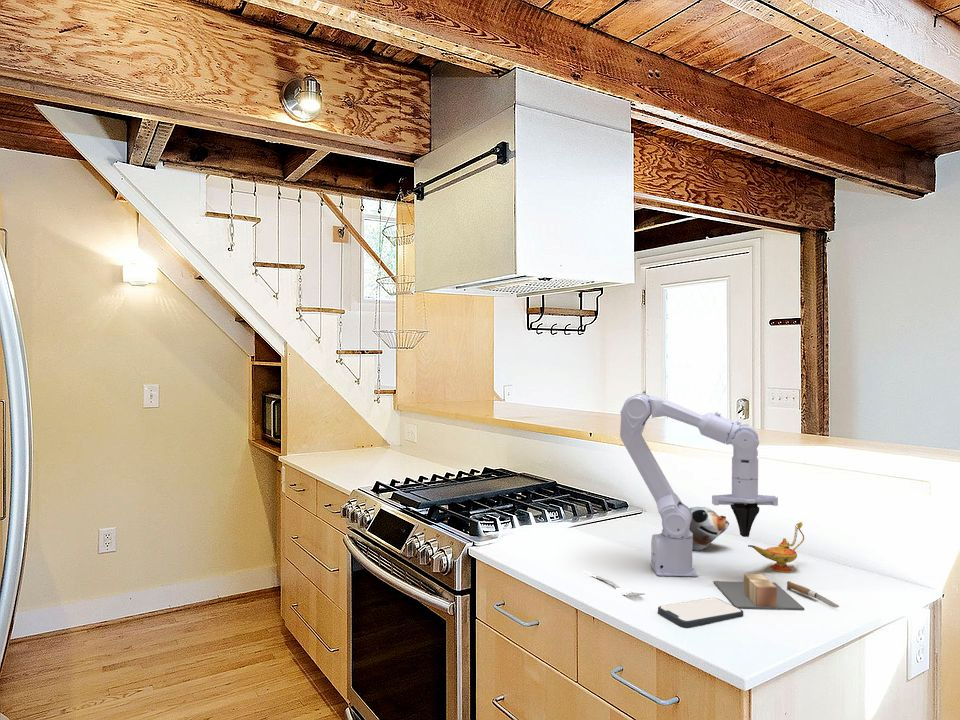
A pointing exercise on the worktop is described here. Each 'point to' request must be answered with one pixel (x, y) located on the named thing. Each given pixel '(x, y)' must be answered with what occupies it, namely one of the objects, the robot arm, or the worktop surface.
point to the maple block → (760, 590)
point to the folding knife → (810, 593)
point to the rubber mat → (742, 601)
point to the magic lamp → (781, 553)
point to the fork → (619, 587)
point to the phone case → (699, 612)
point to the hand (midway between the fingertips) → (744, 535)
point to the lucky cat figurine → (706, 527)
